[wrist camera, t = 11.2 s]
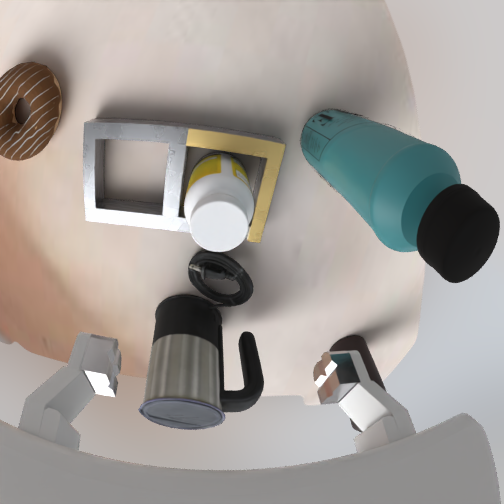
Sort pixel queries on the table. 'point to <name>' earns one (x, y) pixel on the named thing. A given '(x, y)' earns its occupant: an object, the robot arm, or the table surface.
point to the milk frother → (199, 353)
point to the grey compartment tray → (173, 170)
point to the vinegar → (361, 347)
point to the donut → (41, 114)
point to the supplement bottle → (219, 202)
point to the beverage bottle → (404, 191)
